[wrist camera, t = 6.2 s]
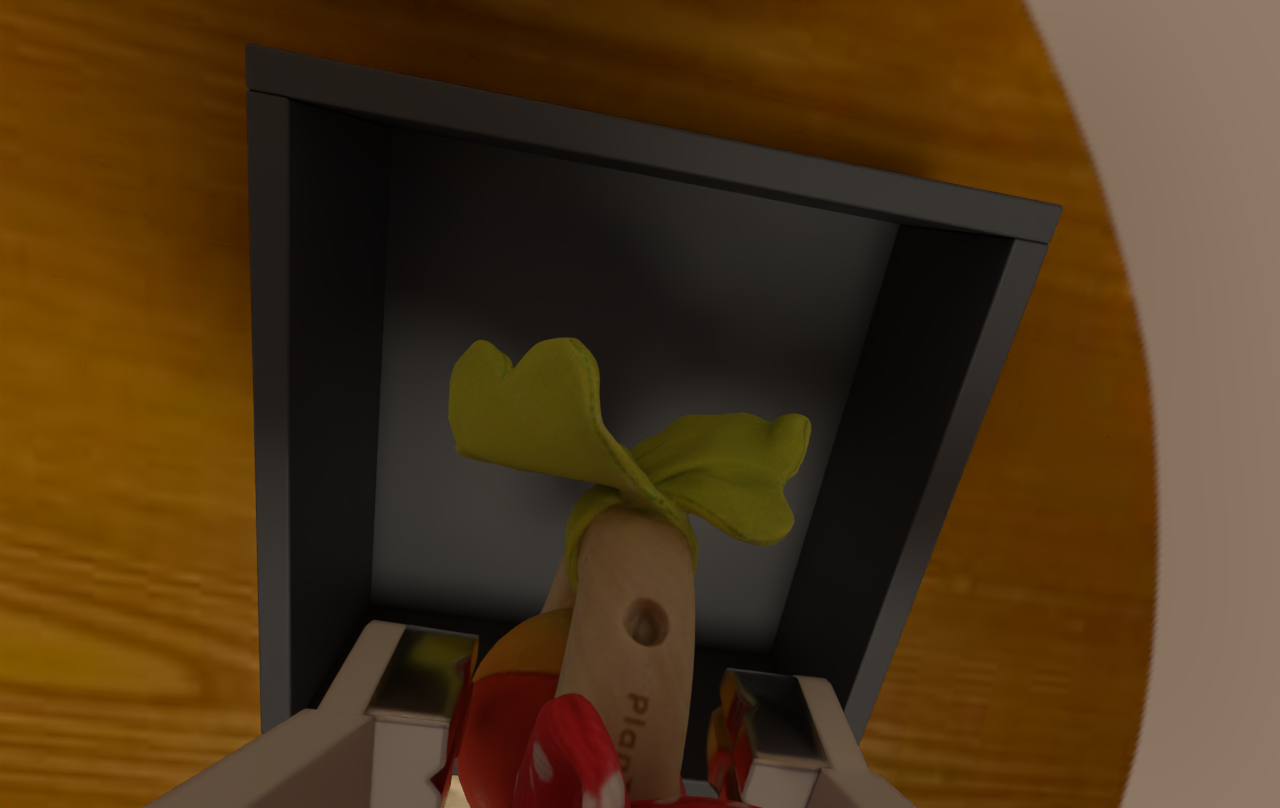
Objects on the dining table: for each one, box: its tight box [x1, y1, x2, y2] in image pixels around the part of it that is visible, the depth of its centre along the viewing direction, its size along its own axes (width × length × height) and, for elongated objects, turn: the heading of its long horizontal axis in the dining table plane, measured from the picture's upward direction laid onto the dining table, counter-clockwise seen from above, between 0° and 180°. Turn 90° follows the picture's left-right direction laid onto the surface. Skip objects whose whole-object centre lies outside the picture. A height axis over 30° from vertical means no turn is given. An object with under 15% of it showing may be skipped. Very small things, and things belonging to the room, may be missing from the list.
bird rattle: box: [448, 338, 811, 808], centre depth 9 cm, size 6×11×9 cm
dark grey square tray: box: [245, 43, 1063, 799], centre depth 16 cm, size 15×14×5 cm
